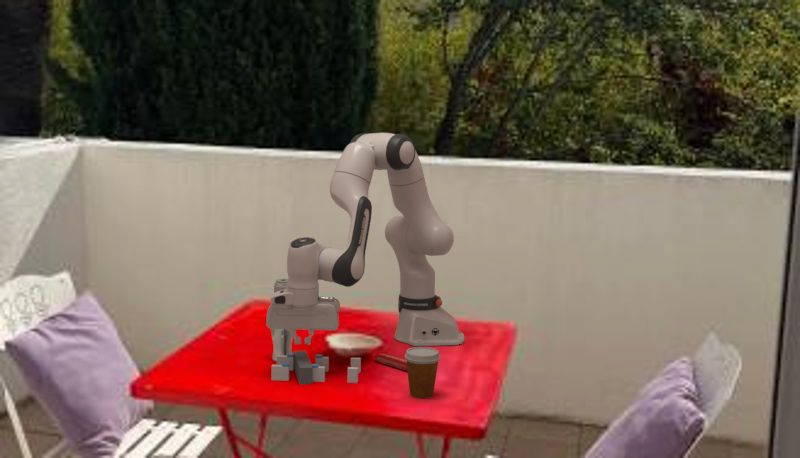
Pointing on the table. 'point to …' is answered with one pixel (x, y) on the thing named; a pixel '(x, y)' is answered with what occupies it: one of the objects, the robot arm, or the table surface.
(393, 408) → the table surface
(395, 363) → the candy bar
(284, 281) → the energy drink can
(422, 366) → the disposable coffee cup
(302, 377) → the tall grey pillar
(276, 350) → the beer glass
